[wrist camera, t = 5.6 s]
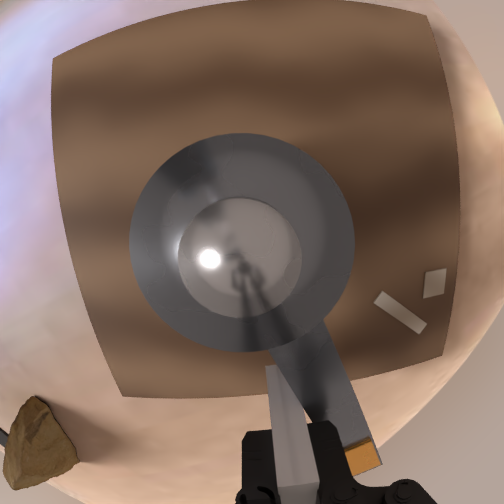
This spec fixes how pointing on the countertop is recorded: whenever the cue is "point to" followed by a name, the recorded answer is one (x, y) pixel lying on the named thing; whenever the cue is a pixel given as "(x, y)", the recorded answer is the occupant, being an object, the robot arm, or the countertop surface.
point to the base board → (280, 127)
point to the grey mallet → (255, 265)
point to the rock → (36, 447)
